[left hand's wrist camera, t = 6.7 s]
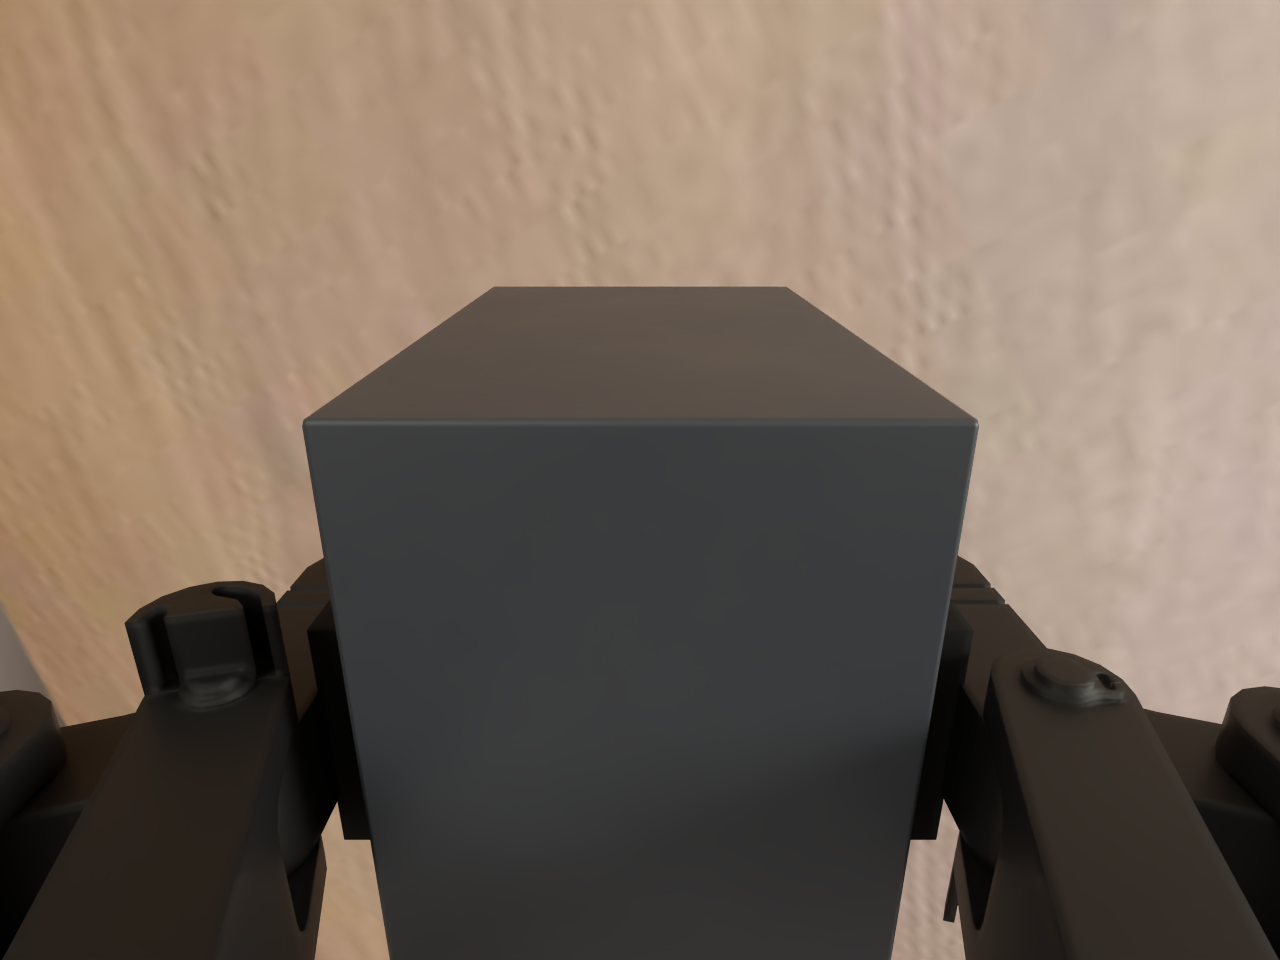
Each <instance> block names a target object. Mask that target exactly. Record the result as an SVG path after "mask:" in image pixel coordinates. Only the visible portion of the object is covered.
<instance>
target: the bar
mask: <svg viewBox="0 0 1280 960" xmlns="http://www.w3.org/2000/svg"><path fill="white" fill-rule="evenodd" d="M302 428H303V434H304V440H305V446H306V452H307V458H308V464H309V470H310V476H311V482H312V489H313V495H314V501H315V507H316V513H317V519H318V525H319V531H320V537H321V543H322V549H323V555H324V561H325V567H326V574H327V580H328V586H329V592H330V598H331V604H332V610H333V616H334V622H335V628H336V634H337V640H338V646H339V653H340V659H341V665H342V671H343V677H344V683H345V689H346V695H347V701H348V707H349V713H350V719H351V725H352V732H353V738H354V744H355V750H356V756H357V762H358V768H359V774H360V780H361V786H362V792H363V798H364V804H365V810H366V817H367V823H368V829H369V835H370V841H371V847H372V853H373V859H374V865H375V871H376V877H377V883H378V889H379V896H380V902H381V908H382V914H383V920H384V926H385V932H386V938H387V944H388V950H389V956H390V960H891V955H892V949H893V943H894V936H895V930H896V924H897V918H898V912H899V906H900V900H901V894H902V888H903V882H904V876H905V870H906V864H907V858H908V852H909V846H910V840H911V834H912V828H913V821H914V815H915V809H916V803H917V797H918V791H919V785H920V779H921V773H922V767H923V761H924V755H925V749H926V743H927V737H928V731H929V725H930V719H931V713H932V706H933V700H934V694H935V688H936V682H937V676H938V670H939V664H940V658H941V652H942V646H943V640H944V634H945V628H946V622H947V616H948V610H949V604H950V597H951V591H952V585H953V579H954V573H955V567H956V561H957V555H958V549H959V543H960V537H961V531H962V525H963V519H964V513H965V507H966V501H967V495H968V489H969V482H970V476H971V470H972V464H973V458H974V452H975V446H976V440H977V434H978V428H979V425H978V421H977V419H975V418H974V417H972V416H971V415H970V414H968V413H967V412H965V411H964V410H962V409H961V408H960V407H958V406H957V405H955V404H954V403H952V402H951V401H950V400H948V399H947V398H945V397H944V396H942V395H941V394H939V393H938V392H937V391H935V390H934V389H932V388H931V387H929V386H928V385H927V384H925V383H924V382H922V381H921V380H919V379H918V378H917V377H915V376H914V375H912V374H911V373H909V372H908V371H907V370H905V369H904V368H902V367H901V366H899V365H898V364H896V363H895V362H894V361H892V360H891V359H889V358H888V357H886V356H885V355H884V354H882V353H881V352H879V351H878V350H876V349H875V348H874V347H872V346H871V345H869V344H868V343H866V342H865V341H864V340H862V339H861V338H859V337H858V336H856V335H855V334H853V333H852V332H851V331H849V330H848V329H846V328H845V327H843V326H842V325H841V324H839V323H838V322H836V321H835V320H833V319H832V318H831V317H829V316H828V315H826V314H825V313H823V312H822V311H820V310H819V309H818V308H816V307H815V306H813V305H812V304H810V303H809V302H808V301H806V300H805V299H803V298H802V297H800V296H799V295H798V294H796V293H795V292H793V291H792V290H790V289H789V288H787V287H493V288H491V289H490V290H489V291H487V292H486V293H484V294H483V295H481V296H480V297H479V298H477V299H476V300H474V301H473V302H471V303H470V304H469V305H467V306H466V307H464V308H463V309H461V310H460V311H459V312H457V313H456V314H454V315H453V316H451V317H450V318H449V319H447V320H446V321H444V322H443V323H441V324H440V325H439V326H437V327H436V328H434V329H433V330H431V331H430V332H429V333H427V334H426V335H424V336H423V337H421V338H420V339H419V340H417V341H416V342H414V343H413V344H411V345H410V346H409V347H407V348H406V349H404V350H403V351H401V352H400V353H399V354H397V355H396V356H394V357H393V358H391V359H390V360H389V361H387V362H386V363H384V364H383V365H381V366H380V367H379V368H377V369H376V370H374V371H373V372H371V373H370V374H369V375H367V376H366V377H364V378H363V379H361V380H360V381H359V382H357V383H356V384H354V385H353V386H351V387H350V388H349V389H347V390H346V391H344V392H343V393H341V394H340V395H339V396H337V397H336V398H334V399H333V400H331V401H330V402H329V403H327V404H326V405H324V406H323V407H321V408H320V409H319V410H317V411H316V412H314V413H313V414H311V415H310V416H309V417H307V418H306V419H304V421H303V425H302Z"/></svg>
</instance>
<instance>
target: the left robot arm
mask: <svg viewBox="0 0 1280 960" xmlns="http://www.w3.org/2000/svg"><path fill="white" fill-rule="evenodd" d="M990 585H991V584H990V583H989V582H988V581H987V579H986V578H985V577H984V576H983V575H982V574H981V573H980V571H979V570H978V569H977V568H976V567H975V566H974V565H973V564H971V563H970V562H968V561H966V560H965V559H963V558H961V557H959V556H958V555H957V561H956V567H955V573H954V579H953V585H952V591H951V597H950V604H949V610H948V616H947V622H946V628H945V634H944V640H943V646H942V652H941V658H940V664H939V670H938V676H937V682H936V688H935V694H934V700H933V706H932V713H931V719H930V725H929V731H928V737H927V743H926V749H925V755H924V761H923V767H922V773H921V779H920V785H919V791H918V797H917V803H916V809H915V815H914V821H913V828H912V834H911V840H936V838H937V832H938V827H939V821H940V816H941V810H942V804H943V799H944V800H945V802H946V804H947V806H948V808H949V810H950V812H951V814H952V816H953V818H954V820H955V822H956V824H957V826H958V828H959V830H960V831H959V836H958V841H957V847H956V852H955V857H954V862H953V867H952V872H951V877H950V883H949V888H948V893H947V898H946V903H945V910H944V918H943V920H944V921H949V922H953V923H954V920H955V915H956V910H957V906H959V913H960V920H961V928H962V935H963V942H964V949H965V957H966V960H1280V688H1275V687H1266V686H1264V687H1256V688H1248V689H1242V690H1241V691H1239V692H1238V693H1237V694H1235V695H1234V696H1233V697H1231V699H1230V702H1229V705H1228V708H1227V711H1226V714H1225V717H1224V720H1223V723H1222V724H1217V723H1212V722H1207V721H1202V720H1196V719H1191V718H1186V717H1181V716H1175V715H1170V714H1165V713H1160V712H1155V711H1151V710H1147V709H1143V708H1142V706H1141V704H1140V702H1139V700H1138V698H1137V696H1136V695H1135V694H1134V692H1133V691H1132V690H1131V689H1130V688H1129V687H1128V685H1127V684H1126V683H1125V682H1124V681H1123V680H1122V679H1121V678H1120V677H1118V676H1116V675H1115V674H1113V673H1112V672H1110V671H1109V670H1107V669H1106V668H1104V667H1103V666H1101V665H1099V664H1097V663H1094V662H1092V661H1089V660H1087V659H1084V658H1082V657H1079V656H1077V655H1074V654H1070V653H1066V652H1061V651H1057V650H1052V649H1048V648H1046V647H1045V646H1044V645H1043V643H1042V642H1041V641H1040V640H1039V639H1038V638H1037V637H1036V635H1035V634H1034V633H1033V632H1032V631H1031V630H1030V629H1029V627H1028V626H1027V625H1026V624H1025V623H1024V622H1023V621H1022V619H1021V618H1020V617H1019V616H1018V615H1017V614H1016V613H1015V611H1014V610H1013V609H1012V608H1011V607H1010V606H1009V605H1008V604H1005V600H1004V599H1003V598H1002V597H1001V595H1000V594H999V593H998V592H997V591H996V590H995V589H994V588H991V586H990ZM125 627H126V630H127V634H128V637H129V641H130V645H131V648H132V652H133V655H134V659H135V663H136V666H137V670H138V673H139V677H140V681H141V684H142V688H143V691H144V695H145V696H144V698H143V700H142V702H141V703H140V705H139V707H138V709H137V711H136V713H132V714H128V715H124V716H119V717H113V718H108V719H103V720H98V721H93V722H87V723H82V724H77V725H72V726H66V727H61V728H60V727H59V724H58V721H57V718H56V715H55V712H54V709H53V706H52V703H51V701H50V700H48V699H47V698H46V697H44V696H43V695H42V694H40V693H37V692H29V691H21V690H13V691H4V692H0V960H314V959H315V951H316V944H317V937H318V930H319V922H320V915H321V908H322V900H323V893H324V886H325V878H326V871H327V866H326V859H325V852H324V847H323V841H322V836H321V834H322V832H323V830H324V828H325V825H326V823H327V821H328V819H329V817H330V815H331V813H332V811H333V809H334V807H335V805H336V803H337V801H338V807H339V812H340V818H341V824H342V829H343V835H344V840H370V835H369V829H368V823H367V817H366V810H365V804H364V798H363V792H362V786H361V780H360V774H359V768H358V762H357V756H356V750H355V744H354V738H353V732H352V725H351V719H350V713H349V707H348V701H347V695H346V689H345V683H344V677H343V671H342V665H341V659H340V653H339V646H338V640H337V634H336V628H335V622H334V616H333V610H332V604H331V598H330V592H329V586H328V580H327V574H326V567H325V561H324V558H323V559H321V560H319V561H318V562H316V563H314V564H312V565H311V566H309V567H307V568H306V570H305V571H304V572H303V573H302V574H301V575H300V576H299V578H298V579H297V580H296V581H295V582H294V583H293V585H292V586H291V590H290V591H286V593H285V594H284V595H283V596H282V597H281V598H280V600H279V601H278V602H277V603H276V599H275V594H274V592H272V591H271V590H269V589H268V588H267V587H265V586H264V585H261V584H256V583H251V582H246V581H225V582H214V583H208V584H203V585H198V586H193V587H188V588H185V589H183V590H180V591H177V592H174V593H171V594H168V595H165V596H162V597H160V598H159V599H157V600H155V601H153V602H151V603H149V604H147V605H146V606H144V607H142V608H140V609H139V610H138V611H137V612H136V613H134V614H133V615H132V616H131V617H130V618H129V619H128V620H127V621H126V622H125Z"/></svg>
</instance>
